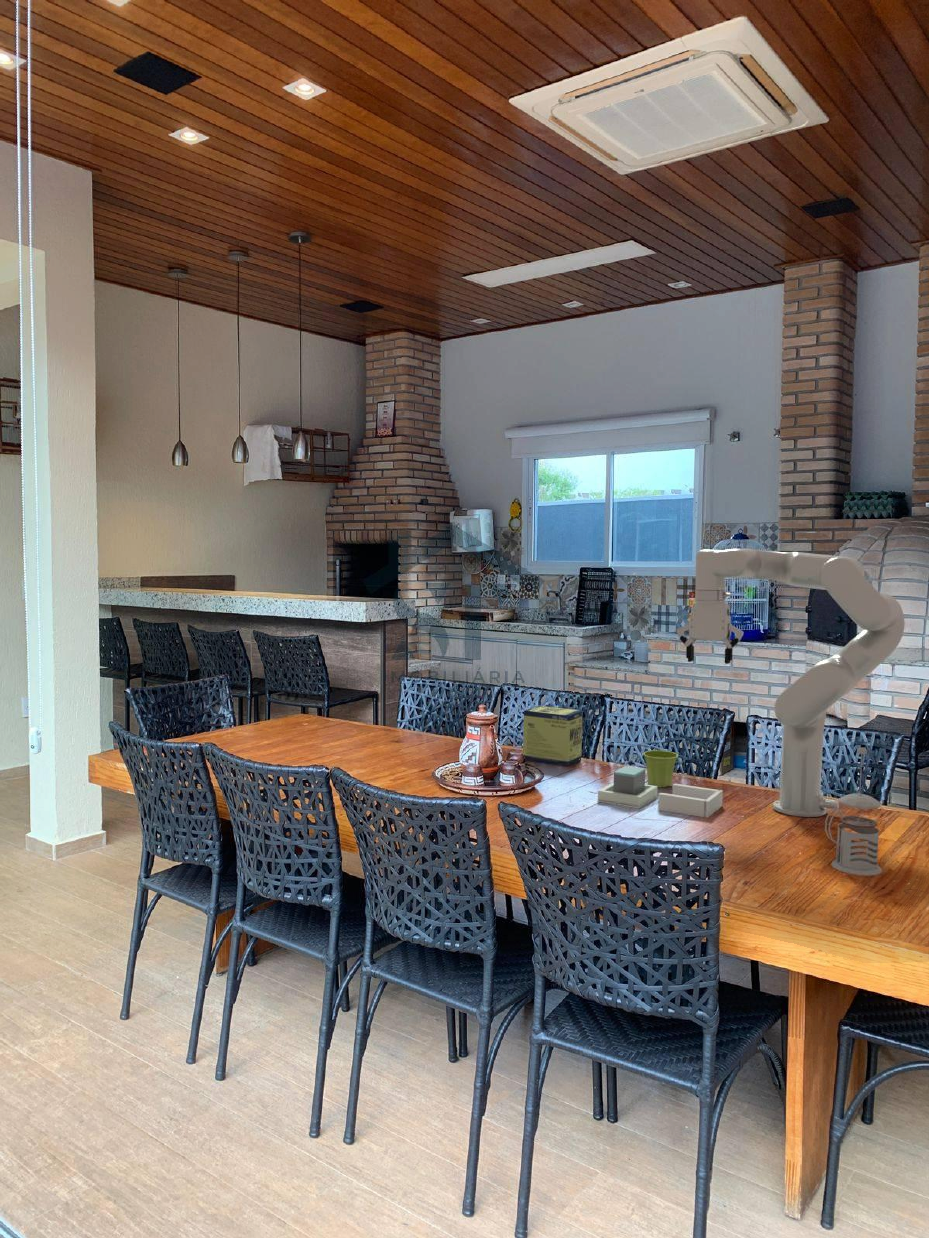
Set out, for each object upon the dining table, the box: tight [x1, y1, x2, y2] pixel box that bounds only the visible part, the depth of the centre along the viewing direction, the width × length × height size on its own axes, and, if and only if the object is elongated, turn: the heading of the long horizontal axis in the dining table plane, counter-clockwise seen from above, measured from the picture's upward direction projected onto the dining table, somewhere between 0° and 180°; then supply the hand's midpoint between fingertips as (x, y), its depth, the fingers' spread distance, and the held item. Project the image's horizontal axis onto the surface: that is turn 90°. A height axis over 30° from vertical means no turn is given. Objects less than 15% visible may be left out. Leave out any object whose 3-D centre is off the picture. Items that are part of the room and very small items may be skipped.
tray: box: [597, 781, 658, 809], centre depth 242 cm, size 11×13×3 cm
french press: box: [824, 747, 883, 877], centre depth 191 cm, size 10×12×25 cm
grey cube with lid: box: [613, 765, 646, 795], centre depth 242 cm, size 6×8×7 cm
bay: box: [657, 783, 724, 818], centre depth 235 cm, size 12×12×4 cm
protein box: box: [522, 705, 583, 767], centre depth 286 cm, size 10×16×16 cm
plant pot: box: [642, 749, 679, 788], centre depth 257 cm, size 9×9×9 cm
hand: (709, 662), depth 245 cm, fingers open, 9 cm apart
